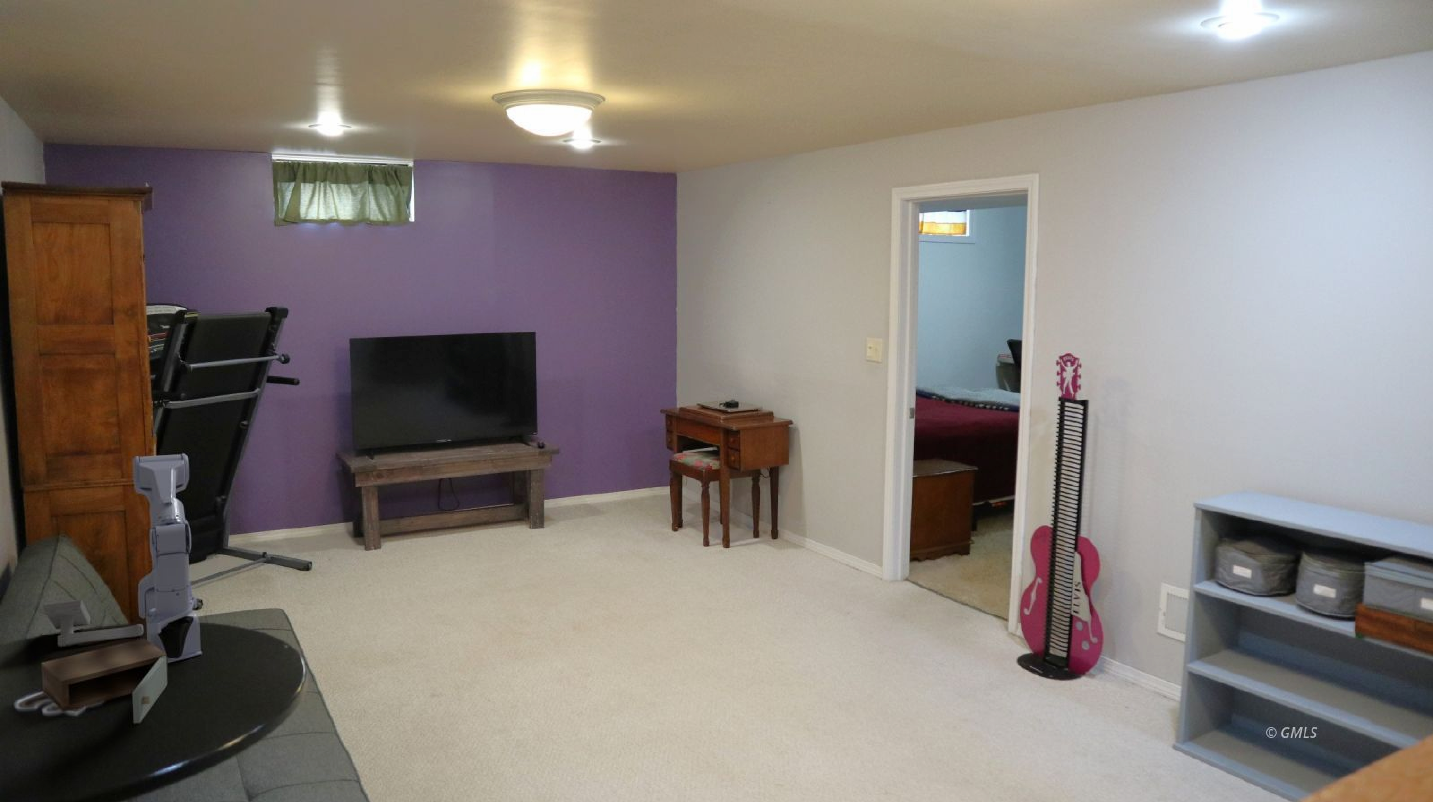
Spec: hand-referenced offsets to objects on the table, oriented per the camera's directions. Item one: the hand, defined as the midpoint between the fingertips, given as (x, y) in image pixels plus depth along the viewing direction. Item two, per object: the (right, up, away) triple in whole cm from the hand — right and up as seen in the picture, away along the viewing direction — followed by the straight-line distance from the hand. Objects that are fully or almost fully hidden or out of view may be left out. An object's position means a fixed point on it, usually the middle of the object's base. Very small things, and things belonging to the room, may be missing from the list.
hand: (174, 656), depth 181 cm
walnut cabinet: (-17, -8, +7) cm, 20 cm away
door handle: (-37, -5, +34) cm, 50 cm away
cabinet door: (-4, -9, +1) cm, 10 cm away
